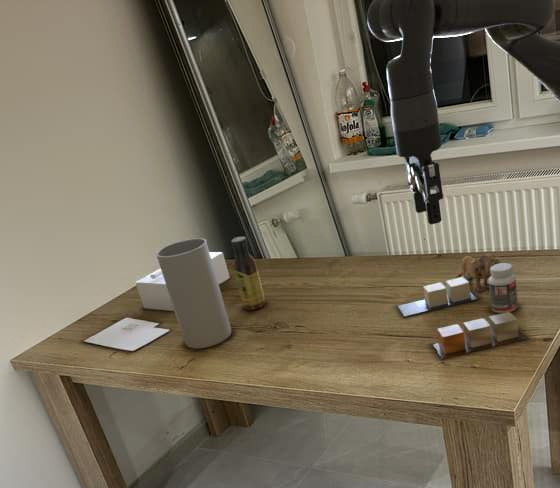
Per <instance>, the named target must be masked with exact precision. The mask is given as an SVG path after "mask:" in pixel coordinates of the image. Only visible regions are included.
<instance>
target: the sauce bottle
mask: <svg viewBox="0 0 560 488" xmlns="http://www.w3.org/2000/svg"><path fill="white" fill-rule="evenodd" d="M230 241H231V242H230V243H231V247H232V249H233V251H234V265H233V270H234V275H235V279H236V282H237V287H238V290H239V293H240V298H241V302H242V304H243V308H244V309H245V310H249V311H254V310H257V309H260V308H262V307H264V306H265V304H266V300H265V294H264V290H263V286H262V281H261V278H260V273H259V269H258V267H257V262H256V260H255V258H254V256H252V255H251V254H250V250H249V249H248V244H247V243H248V241H247V237H246V236H237V237H234V238H233V239H231V240H230Z"/></svg>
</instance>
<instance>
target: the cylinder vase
mask: <svg viewBox="0 0 560 488" xmlns="http://www.w3.org/2000/svg"><path fill="white" fill-rule="evenodd" d="M209 252H210V250H209V246H208V243H207V239H205V238H201V237H199V238H198V237H197V238H189V239H184V240H180V241H176V242H174V243H173V242H172V243H171V244H168V245H166V246H163V247H162V248H161V249H159V250H158V251H157V252H156V258H157V261H158V264H159V267H160V268H161V270H162V274H163V277H164V280H165V283H166V286H167V289H168V292H169V295H170V298H171V302H172V305H173V308H174V311H173V312H174V314H175V317H176V320H177V323H178V326H179V330H180V332H181V335H182V339H183V342H184V345H185V346H187V347H188V348H190V349H194V350H198V349H199V350H200V349H201V350H203V349H208V348H211V347H214V346H217V345H220V344H221V343H223V342H225V341H226V340H227V339H228V338H229V337H230V336H231V334H232V327H231V324H230V321H229V316H228V313H227V310H226V306H225V302H224V298H223V296H222V292H221V288H220V284H218V281H217V277H216V274H215V270H214V267H213V263H212V260H211V256H210V253H209Z"/></svg>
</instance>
